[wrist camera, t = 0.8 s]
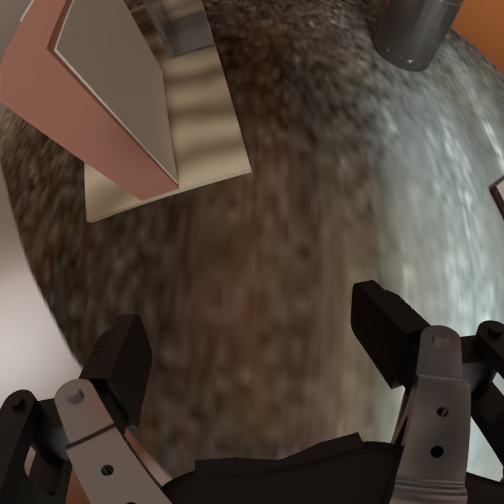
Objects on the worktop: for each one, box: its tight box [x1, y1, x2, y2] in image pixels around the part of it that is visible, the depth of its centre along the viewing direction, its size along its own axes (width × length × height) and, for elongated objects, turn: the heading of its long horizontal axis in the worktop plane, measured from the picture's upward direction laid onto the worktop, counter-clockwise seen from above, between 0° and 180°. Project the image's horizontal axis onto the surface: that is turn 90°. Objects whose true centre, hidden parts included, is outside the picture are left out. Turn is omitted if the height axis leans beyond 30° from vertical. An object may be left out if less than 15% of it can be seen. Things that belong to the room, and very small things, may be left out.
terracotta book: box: [0, 0, 179, 201], centre depth 21 cm, size 18×5×22 cm, turn 14°
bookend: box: [143, 0, 215, 59], centre depth 28 cm, size 10×6×12 cm, turn 14°
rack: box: [85, 0, 252, 223], centre depth 31 cm, size 32×20×6 cm, turn 14°
